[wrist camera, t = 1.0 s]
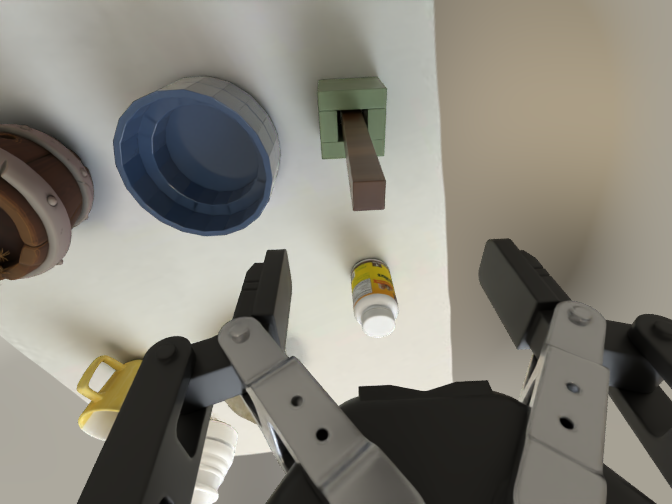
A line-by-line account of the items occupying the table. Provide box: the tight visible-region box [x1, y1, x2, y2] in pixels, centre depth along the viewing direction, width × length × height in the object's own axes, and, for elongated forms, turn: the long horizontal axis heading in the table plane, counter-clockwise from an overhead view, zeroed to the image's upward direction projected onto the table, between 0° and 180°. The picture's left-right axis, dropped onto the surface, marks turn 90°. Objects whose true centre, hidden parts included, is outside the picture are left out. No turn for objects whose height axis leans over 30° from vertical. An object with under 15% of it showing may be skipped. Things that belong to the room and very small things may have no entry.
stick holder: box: [317, 77, 387, 159], centre depth 32 cm, size 6×6×6 cm
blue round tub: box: [113, 76, 281, 236], centre depth 33 cm, size 14×14×8 cm
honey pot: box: [191, 420, 238, 504], centre depth 66 cm, size 13×13×18 cm
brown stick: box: [340, 109, 386, 211], centre depth 27 cm, size 2×2×20 cm
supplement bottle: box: [351, 259, 399, 338], centre depth 43 cm, size 6×6×10 cm
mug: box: [77, 355, 142, 441], centre depth 54 cm, size 14×10×10 cm
